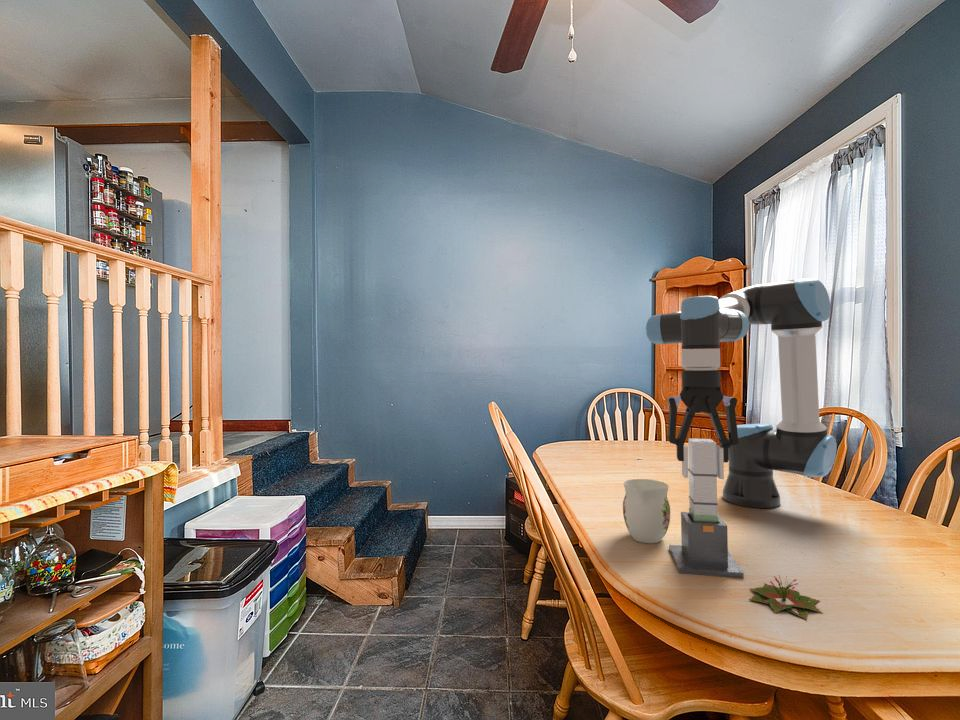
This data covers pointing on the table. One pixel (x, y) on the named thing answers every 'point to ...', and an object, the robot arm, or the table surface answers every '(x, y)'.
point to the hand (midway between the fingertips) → (702, 476)
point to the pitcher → (646, 509)
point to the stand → (704, 549)
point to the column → (702, 481)
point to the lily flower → (790, 594)
